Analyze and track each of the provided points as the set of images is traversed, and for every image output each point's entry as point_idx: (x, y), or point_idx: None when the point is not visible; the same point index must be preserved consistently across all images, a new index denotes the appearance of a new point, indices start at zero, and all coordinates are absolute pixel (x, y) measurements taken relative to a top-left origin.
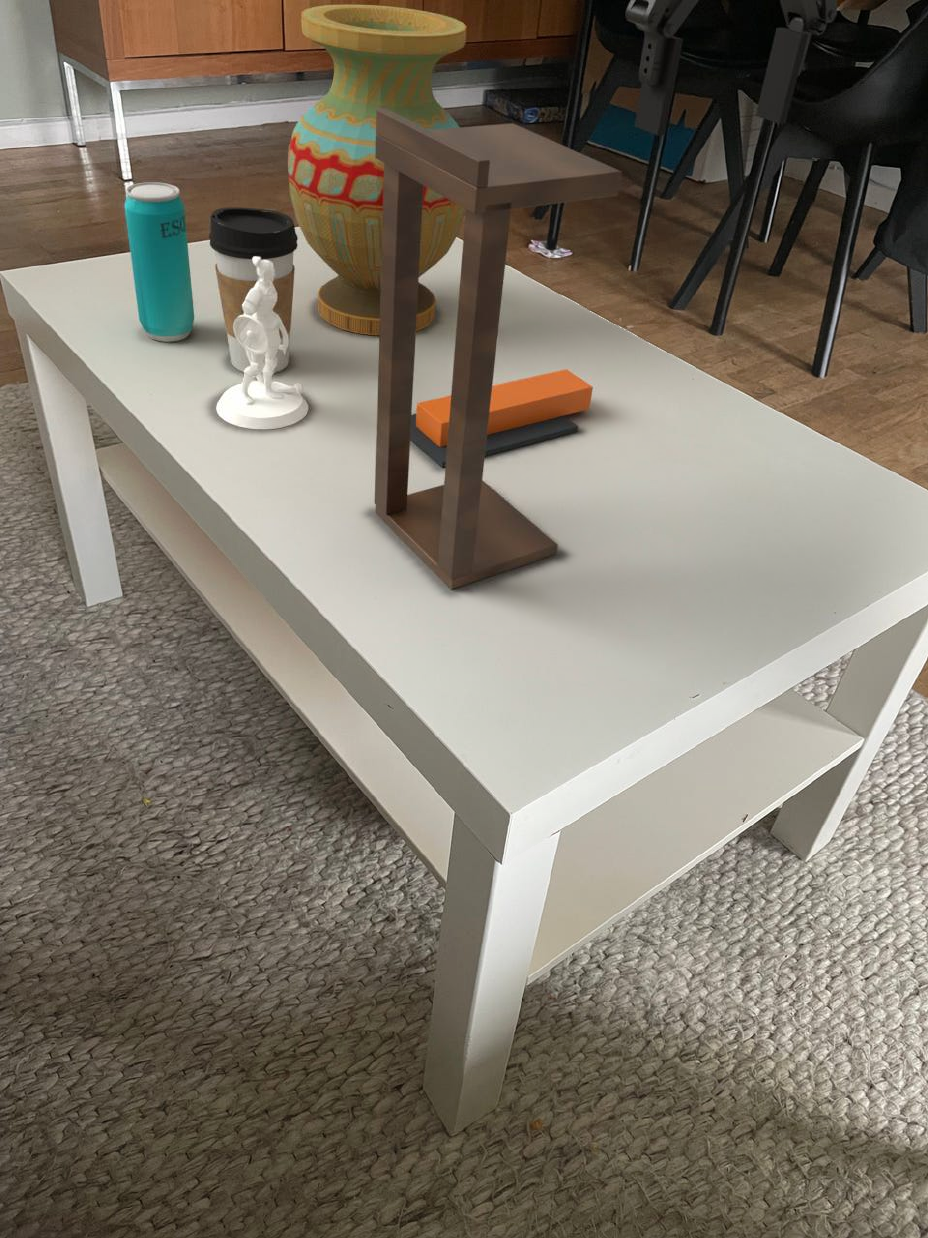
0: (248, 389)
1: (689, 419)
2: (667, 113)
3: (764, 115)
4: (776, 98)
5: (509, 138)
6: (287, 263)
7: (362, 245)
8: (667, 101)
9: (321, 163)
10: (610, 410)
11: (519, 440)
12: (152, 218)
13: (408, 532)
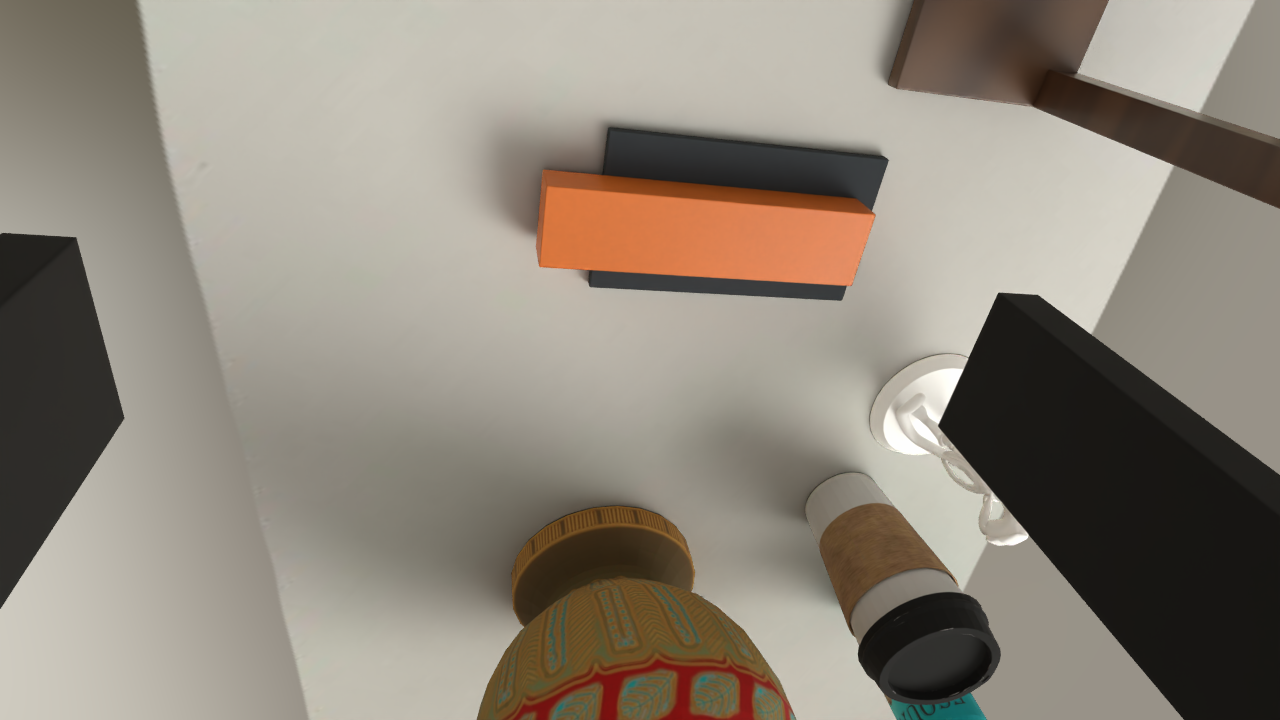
0: (927, 438)
1: (349, 32)
2: (1070, 340)
3: (102, 369)
4: (25, 383)
5: None
6: (900, 590)
7: (735, 625)
8: (1122, 374)
9: None
10: (487, 155)
11: (740, 147)
12: (976, 711)
13: (1099, 13)
